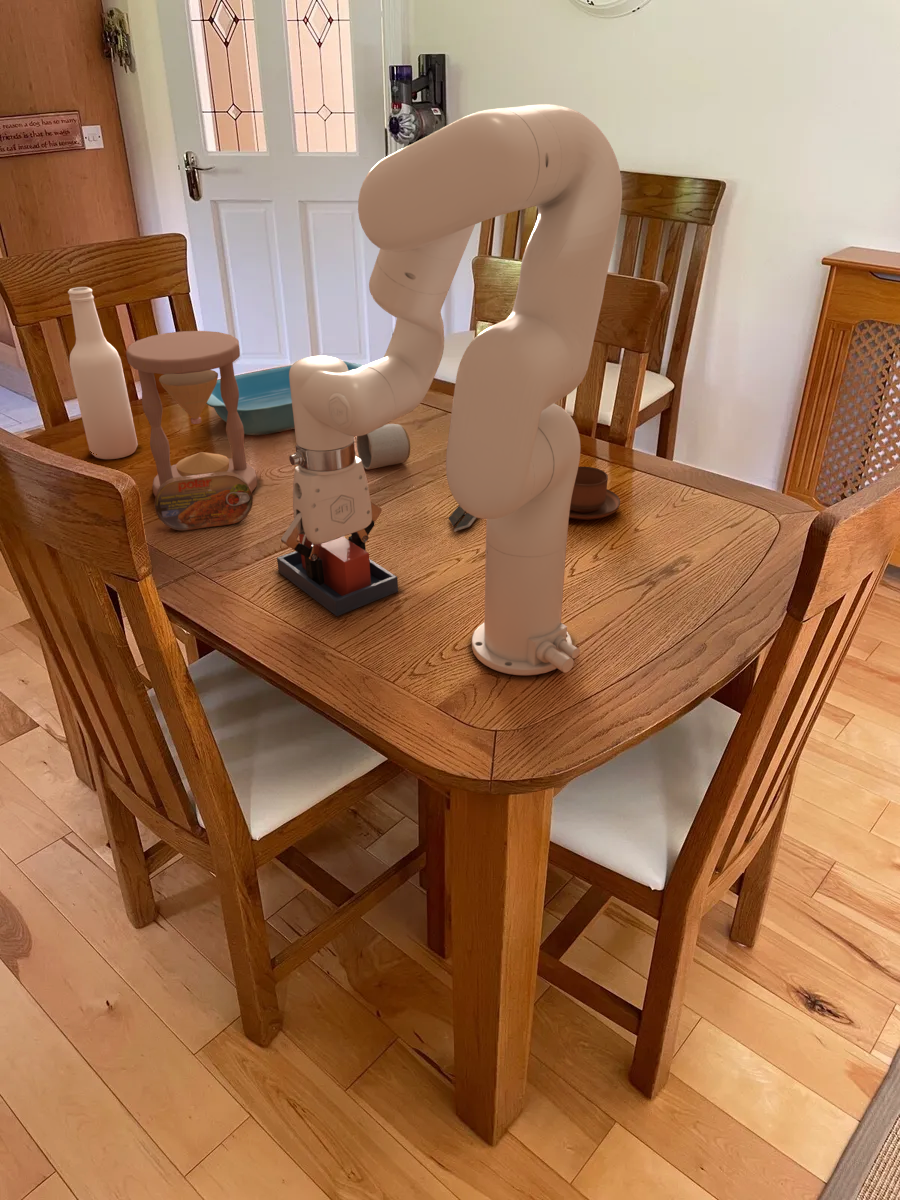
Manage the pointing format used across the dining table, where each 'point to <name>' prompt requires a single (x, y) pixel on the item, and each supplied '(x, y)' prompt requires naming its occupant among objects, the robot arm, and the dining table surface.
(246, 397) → the casserole dish
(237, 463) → the hourglass
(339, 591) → the bar
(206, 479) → the tin
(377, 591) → the tray
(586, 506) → the cup and saucer
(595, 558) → the dining table surface
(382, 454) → the ceramic mug
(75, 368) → the alcohol
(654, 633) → the dining table surface
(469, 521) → the knife
